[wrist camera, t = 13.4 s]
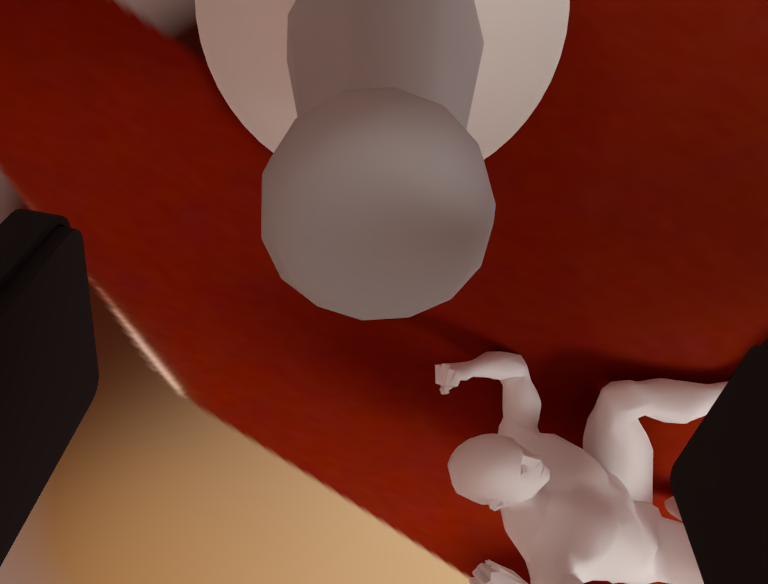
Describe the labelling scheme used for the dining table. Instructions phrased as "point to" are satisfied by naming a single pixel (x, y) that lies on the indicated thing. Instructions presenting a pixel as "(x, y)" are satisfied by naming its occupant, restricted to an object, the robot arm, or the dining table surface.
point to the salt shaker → (379, 157)
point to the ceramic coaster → (273, 85)
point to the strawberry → (601, 582)
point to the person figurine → (577, 480)
